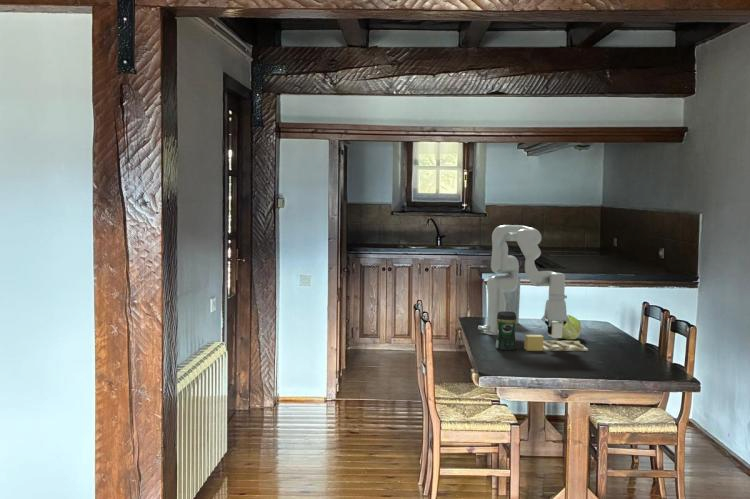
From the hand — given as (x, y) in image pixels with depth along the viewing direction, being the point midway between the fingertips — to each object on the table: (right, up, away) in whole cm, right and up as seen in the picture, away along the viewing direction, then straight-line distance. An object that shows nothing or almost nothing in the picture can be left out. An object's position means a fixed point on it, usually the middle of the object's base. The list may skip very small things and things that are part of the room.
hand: (554, 333), depth 379 cm
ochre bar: (-11, -7, -4) cm, 14 cm away
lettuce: (+13, -6, +26) cm, 30 cm away
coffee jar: (-25, -7, -5) cm, 27 cm away
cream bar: (0, -1, 0) cm, 1 cm away
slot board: (+4, -7, +2) cm, 9 cm away
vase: (-10, -2, +71) cm, 72 cm away
